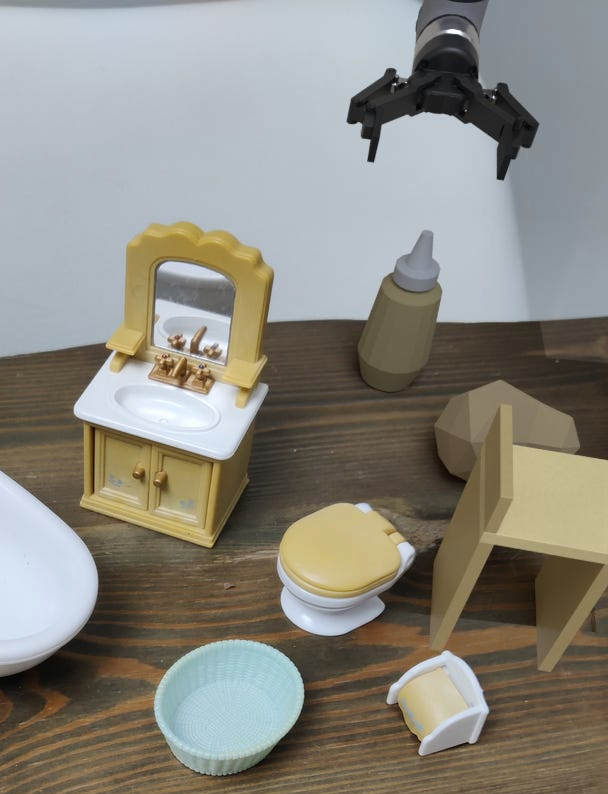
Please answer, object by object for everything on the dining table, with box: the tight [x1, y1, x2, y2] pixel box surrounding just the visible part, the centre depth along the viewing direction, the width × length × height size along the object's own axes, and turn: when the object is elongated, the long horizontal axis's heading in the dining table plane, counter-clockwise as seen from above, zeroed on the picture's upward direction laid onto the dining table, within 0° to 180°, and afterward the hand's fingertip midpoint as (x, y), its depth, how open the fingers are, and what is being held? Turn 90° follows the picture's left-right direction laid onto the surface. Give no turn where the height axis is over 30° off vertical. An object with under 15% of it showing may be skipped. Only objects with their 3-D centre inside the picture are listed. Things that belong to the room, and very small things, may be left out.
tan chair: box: [428, 404, 608, 673], centre depth 85 cm, size 11×11×20 cm
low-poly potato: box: [433, 379, 581, 482], centre depth 101 cm, size 15×11×12 cm
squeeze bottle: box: [357, 229, 443, 393], centre depth 106 cm, size 8×8×18 cm
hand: (438, 158), depth 103 cm, fingers open, 13 cm apart
